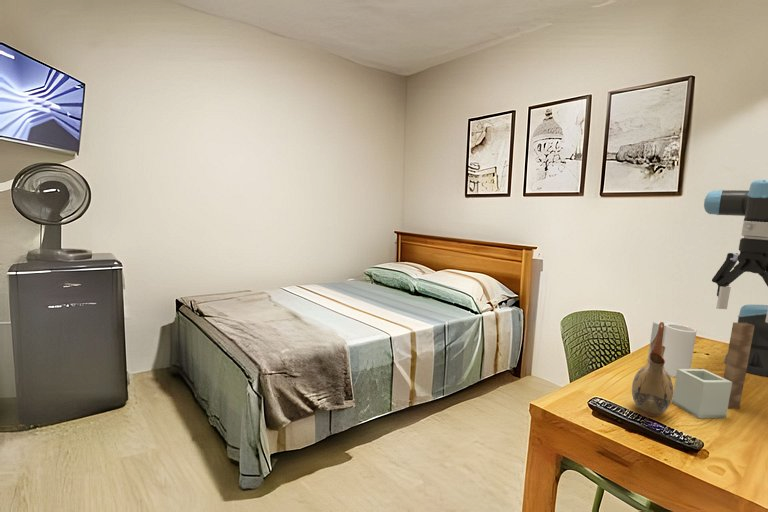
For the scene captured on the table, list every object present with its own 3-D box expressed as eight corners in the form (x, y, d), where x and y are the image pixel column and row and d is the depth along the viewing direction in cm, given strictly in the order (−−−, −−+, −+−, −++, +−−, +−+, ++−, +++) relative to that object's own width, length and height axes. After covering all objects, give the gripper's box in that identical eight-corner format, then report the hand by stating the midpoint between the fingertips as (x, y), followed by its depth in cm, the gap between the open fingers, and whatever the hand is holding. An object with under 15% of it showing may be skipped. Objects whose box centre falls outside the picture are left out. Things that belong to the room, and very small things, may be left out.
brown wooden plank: (730, 403, 118) (745, 322, 114) (739, 407, 115) (754, 325, 112) (718, 403, 117) (733, 322, 114) (727, 408, 115) (742, 325, 111)
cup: (694, 379, 133) (702, 332, 131) (666, 376, 135) (673, 329, 133) (681, 370, 141) (688, 325, 139) (655, 366, 143) (662, 322, 141)
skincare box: (665, 360, 150) (671, 320, 148) (680, 366, 144) (686, 326, 142) (646, 360, 148) (652, 321, 146) (660, 367, 143) (666, 326, 141)
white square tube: (697, 402, 117) (703, 368, 116) (725, 417, 109) (732, 382, 108) (671, 402, 116) (677, 369, 115) (698, 418, 108) (704, 382, 106)
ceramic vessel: (669, 432, 100) (685, 333, 97) (626, 419, 105) (640, 325, 102) (668, 406, 114) (682, 319, 110) (631, 396, 119) (643, 312, 115)
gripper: (704, 233, 121) (693, 303, 124) (799, 242, 97) (782, 329, 100) (726, 235, 123) (714, 304, 125) (826, 244, 98) (808, 329, 101)
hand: (744, 315), depth 113 cm, fingers open, 13 cm apart
